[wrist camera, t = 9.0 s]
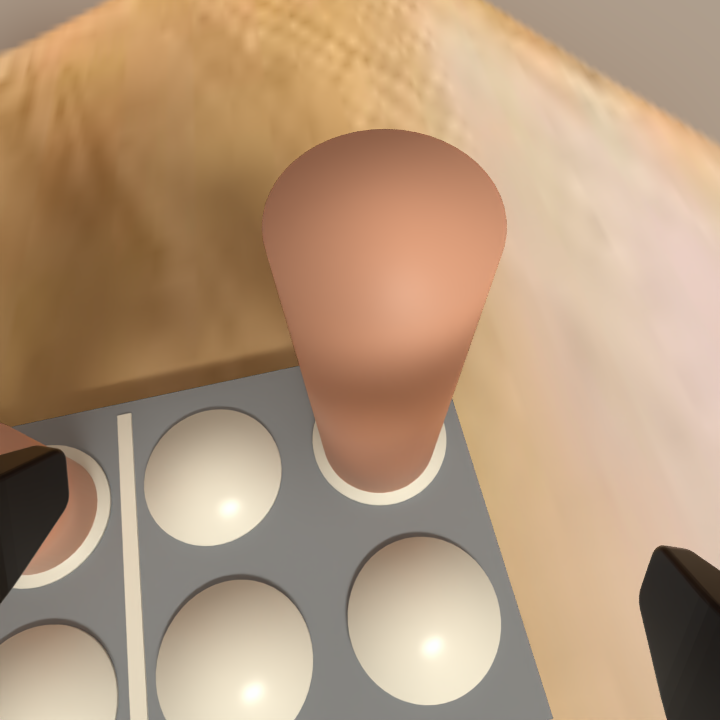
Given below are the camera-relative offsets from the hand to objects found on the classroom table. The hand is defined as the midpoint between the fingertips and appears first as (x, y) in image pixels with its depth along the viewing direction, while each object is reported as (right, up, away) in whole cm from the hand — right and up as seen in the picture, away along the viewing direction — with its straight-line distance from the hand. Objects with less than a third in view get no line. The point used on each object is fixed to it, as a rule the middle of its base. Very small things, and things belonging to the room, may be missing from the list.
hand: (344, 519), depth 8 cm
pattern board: (-7, -6, +11) cm, 14 cm away
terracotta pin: (+1, 0, +12) cm, 12 cm away
